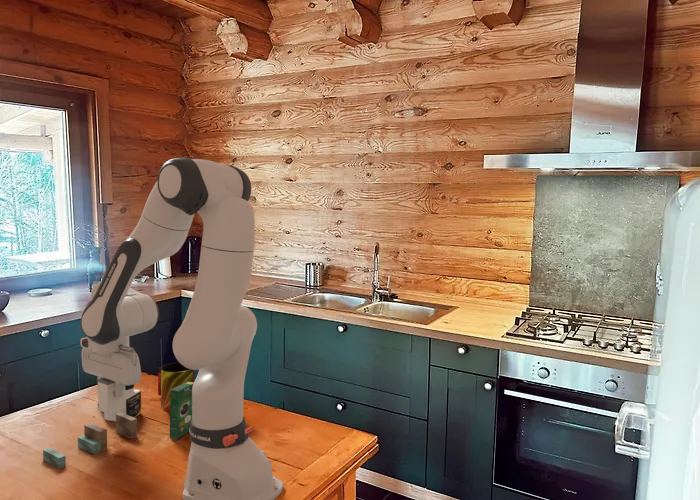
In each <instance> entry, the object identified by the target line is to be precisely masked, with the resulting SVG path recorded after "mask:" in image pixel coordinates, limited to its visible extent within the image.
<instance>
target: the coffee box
mask: <svg viewBox="0 0 700 500" xmlns="http://www.w3.org/2000/svg"><path fill="white" fill-rule="evenodd" d="M193 384H194V382H186V383H184V384H182V385H180V386H177V387H175V388H173V389H171V390H170V412H169V438H170V439H173V440H179V439H180V438H182V437H183V436H184V435H186V434H188V433H189V428H190V422H191V420H192V387H193Z"/></svg>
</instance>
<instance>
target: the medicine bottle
mask: <svg viewBox="0 0 700 500" xmlns="http://www.w3.org/2000/svg"><path fill="white" fill-rule="evenodd" d="M125 394H126V408H123V409H120V410H117V411H114V412H112V413H109V414H107V413H105V412H104V420H105V421H110V422H116V414H118V413H120V412H121V413H124V414H126V415H129V416H131V417H134V418H137V416H139V415H140V414H141V413H142V391H141V389H135V384H133V385H130V386H127V385H125Z"/></svg>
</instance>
